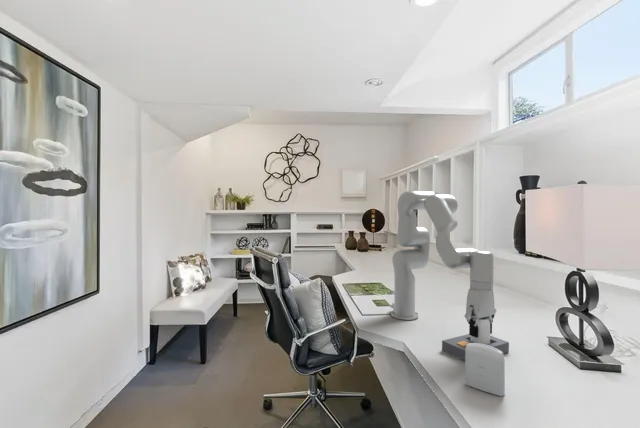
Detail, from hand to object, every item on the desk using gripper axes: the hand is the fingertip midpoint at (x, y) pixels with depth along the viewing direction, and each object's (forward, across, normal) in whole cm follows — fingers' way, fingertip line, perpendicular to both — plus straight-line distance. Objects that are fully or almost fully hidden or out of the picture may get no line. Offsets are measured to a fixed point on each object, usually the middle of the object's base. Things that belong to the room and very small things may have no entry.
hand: (480, 334), depth 121 cm
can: (+6, 0, 0) cm, 6 cm away
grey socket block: (+6, +3, 0) cm, 6 cm away
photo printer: (+6, +23, +18) cm, 30 cm away
